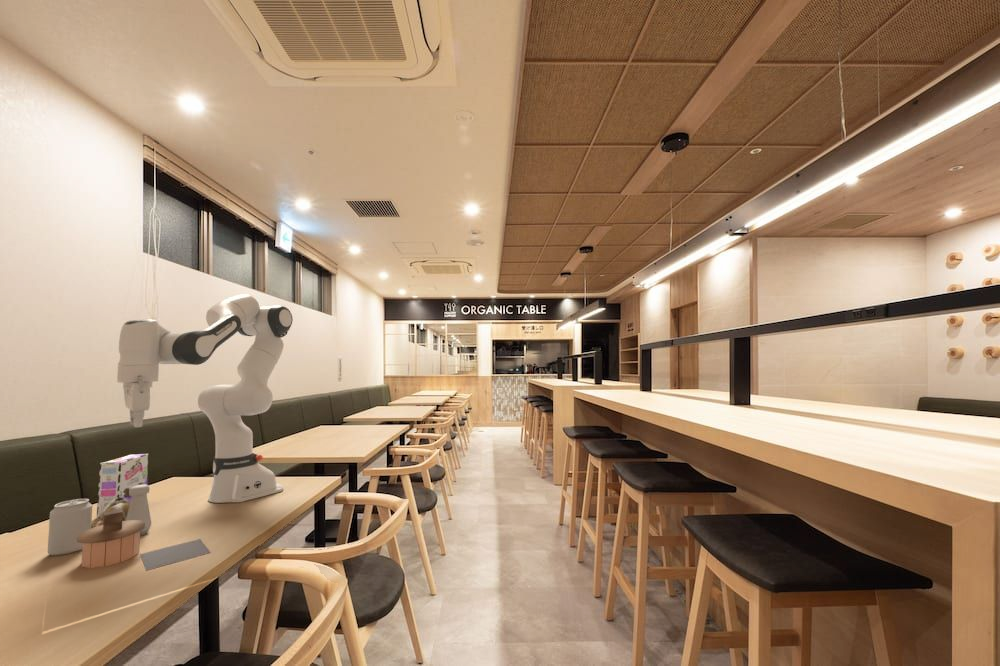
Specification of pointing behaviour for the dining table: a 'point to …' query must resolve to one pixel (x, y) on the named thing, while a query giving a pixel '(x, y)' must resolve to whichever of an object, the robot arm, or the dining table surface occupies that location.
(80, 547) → the can
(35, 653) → the dining table surface
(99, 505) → the candy box
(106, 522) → the lid
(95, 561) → the bowl
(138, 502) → the salt shaker
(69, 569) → the dining table surface
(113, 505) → the ceramic sculpture
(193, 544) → the mat
